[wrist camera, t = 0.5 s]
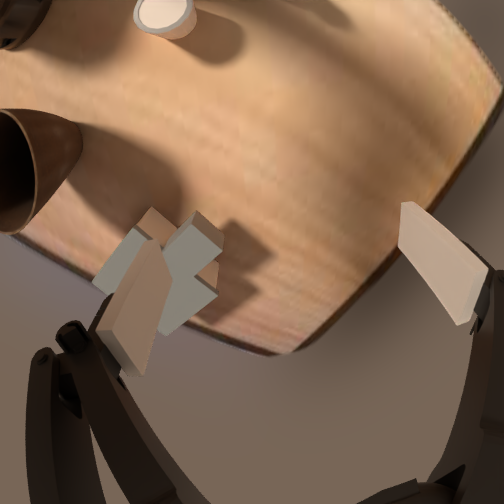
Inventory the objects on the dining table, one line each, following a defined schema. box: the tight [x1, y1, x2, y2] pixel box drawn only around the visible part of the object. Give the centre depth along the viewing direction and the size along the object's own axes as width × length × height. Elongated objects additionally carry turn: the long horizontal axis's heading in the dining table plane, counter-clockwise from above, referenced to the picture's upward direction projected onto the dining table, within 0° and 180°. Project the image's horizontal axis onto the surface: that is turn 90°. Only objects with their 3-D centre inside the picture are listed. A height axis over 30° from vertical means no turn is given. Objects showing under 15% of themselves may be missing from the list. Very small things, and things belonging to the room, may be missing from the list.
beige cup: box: [133, 0, 197, 40], centre depth 23 cm, size 7×7×7 cm
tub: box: [136, 206, 219, 289], centre depth 41 cm, size 14×12×7 cm
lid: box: [92, 210, 225, 336], centre depth 37 cm, size 15×19×4 cm
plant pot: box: [0, 109, 83, 235], centre depth 27 cm, size 15×15×16 cm
